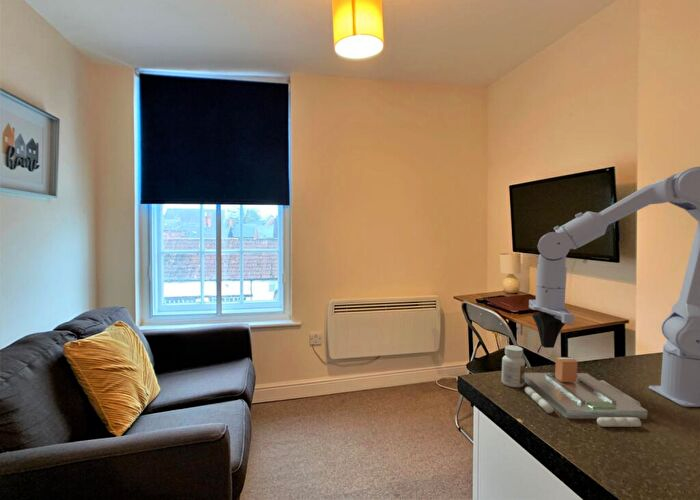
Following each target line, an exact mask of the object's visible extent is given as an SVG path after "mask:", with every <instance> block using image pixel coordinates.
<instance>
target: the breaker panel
mask: <svg viewBox="0 0 700 500" xmlns="http://www.w3.org/2000/svg"><path fill="white" fill-rule="evenodd" d="M524 381H525V382H524V383H525V384H526V385H528V387H531V388H532V389H533V390H534V391H535V392H536V393H537V394H539V395H540V396H541V397H542V398H543V399H544V400H545V401H547V402H548V403H549V404H550V405H551V406H552V407H553V409H554V410H556V411H558V413H559V414H560V415H562V417H564V418H565V419H568V420H569V419H572V420H573V419H574V420H575V419H576V420H577V419H579V420H581V419H587V420H588V419H589V420H591V419H592V420H593V419H594V420H595V419H596V420H597V419H598V418H599V417H632V418H638V419H639V420H648V410H647V409H646V408H644V407H642V406H639V405H638V404H636V403H634V402H633V401H631V400H629V399H628V398H626V397H625V396H623V395H621V394H620V393H618V392H616V391H615V390H613V389H612V388H610V387H608V386H607V385H605V384H603V383H602V382H600V380H599V379H597V378H595V377H593V376H592V375H590V374H589V373H587V372H577V382H561V381H560V380H559V379H557V378H556V377H555V372H553V371H552V372H550V371H549V372H525V375H524Z"/></svg>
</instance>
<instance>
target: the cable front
mask: <svg viewBox="0 0 700 500" xmlns="http://www.w3.org/2000/svg"><path fill="white" fill-rule="evenodd" d="M524 392H525V394H527V395H528V396H529V397H530V398H531V399H532V400H533V401H534V402H535V403H536V404H537V405H539V407H541V408H542V409H543V410H544V411H545V412H546V413H547V414H552V413H553V412H554V410H555V408H554V407H553V406H552V405H551V404H549V403H548V402H547V401H546V400H545V399H544V398H543V397H541V396H540V395H539V394H538V393H537V392H536V391H535V390H534V389H532V388H531V387H530V386H526V387H525V388H524Z"/></svg>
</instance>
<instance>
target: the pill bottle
mask: <svg viewBox="0 0 700 500" xmlns="http://www.w3.org/2000/svg"><path fill="white" fill-rule="evenodd" d="M504 354H505V355H504V356H503V357H502V358H501V378H500V379H501V380H500V381H501V383H502V384H504V386H506V387H510V388H521V387H524V386H525V382H524V375H525V373H526V361H525V359H524V358H523V355H524V348H522V347H521V346H518V345H513V344H512V345H510V344H508V345H505V346H504Z"/></svg>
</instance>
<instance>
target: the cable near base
mask: <svg viewBox="0 0 700 500" xmlns="http://www.w3.org/2000/svg"><path fill="white" fill-rule="evenodd" d="M599 381H600V382H602V383H603V384H605V385H607V386H608V387H610V388H612V389H613V390H615V391H616V392H618V393H620V394H621V395H623V396H625V397H626V398H628V399H629V400H631V401H633V402H634V403H636V404H638V405H639V406H641V402H640V401H639V400H637V399H635V398H633V397H631V396H630V395H628V394H627V393H625V392H623V391H622V390H620V389H618V388H616V386H613V385H612V384H611V383H608V382H607V381H605V380H603V379H601V380H599ZM641 407H642V406H641Z"/></svg>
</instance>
